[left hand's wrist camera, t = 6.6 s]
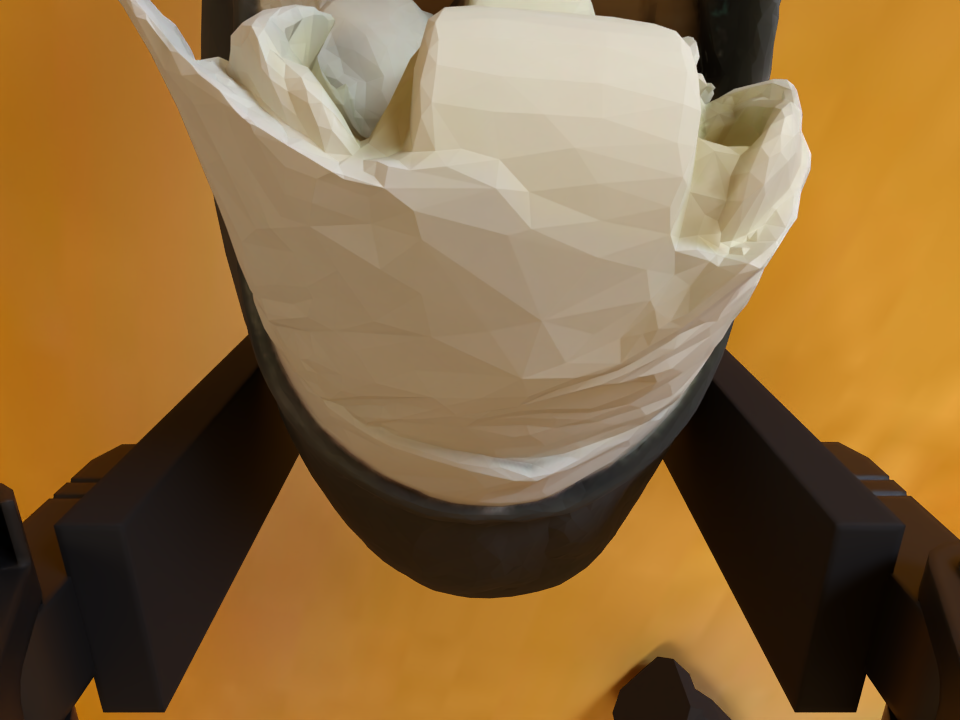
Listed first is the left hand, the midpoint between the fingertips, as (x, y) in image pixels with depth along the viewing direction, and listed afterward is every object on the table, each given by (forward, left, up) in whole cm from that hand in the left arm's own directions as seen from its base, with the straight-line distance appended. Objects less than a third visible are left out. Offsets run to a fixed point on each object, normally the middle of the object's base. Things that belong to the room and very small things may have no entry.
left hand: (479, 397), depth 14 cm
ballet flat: (+8, +2, 0) cm, 8 cm away
